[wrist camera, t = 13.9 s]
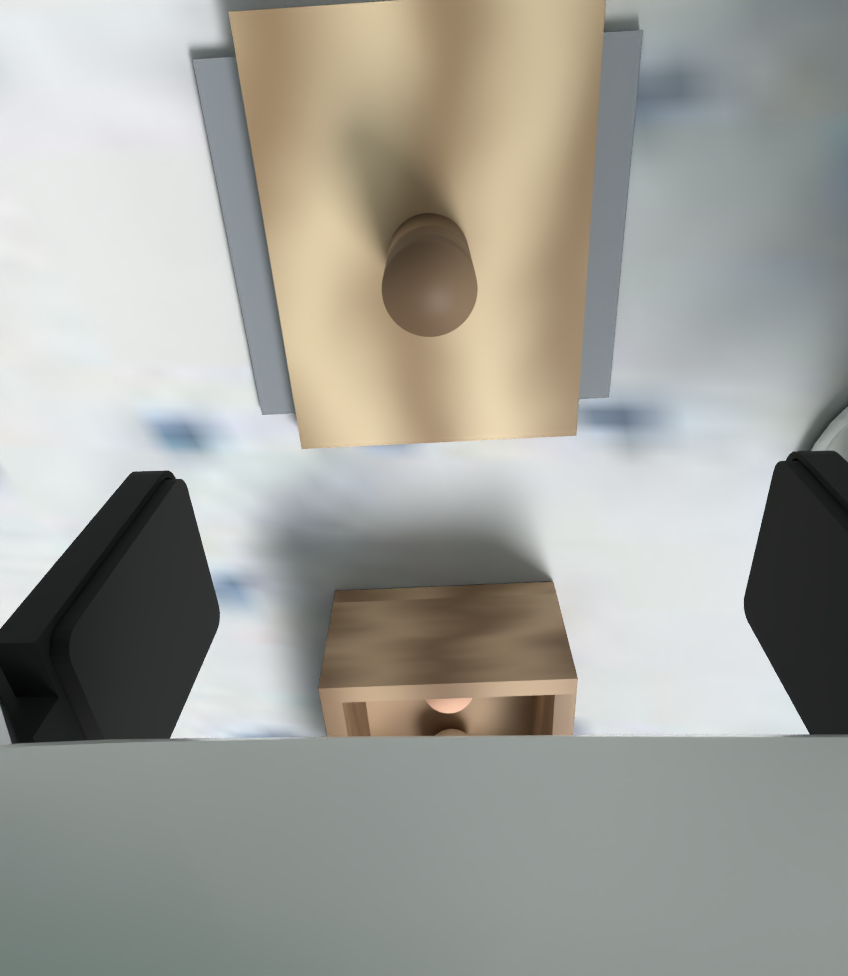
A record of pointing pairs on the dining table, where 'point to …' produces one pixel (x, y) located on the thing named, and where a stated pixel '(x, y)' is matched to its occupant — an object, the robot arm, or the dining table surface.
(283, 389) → the felt pad
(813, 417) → the dining table surface
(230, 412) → the dining table surface
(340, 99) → the lid
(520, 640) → the box
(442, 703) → the ball
